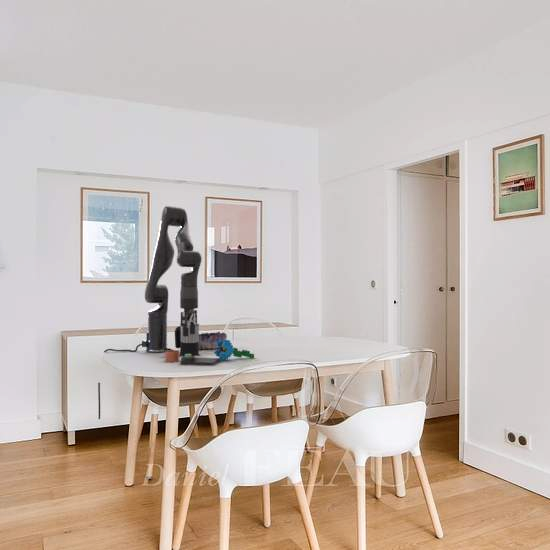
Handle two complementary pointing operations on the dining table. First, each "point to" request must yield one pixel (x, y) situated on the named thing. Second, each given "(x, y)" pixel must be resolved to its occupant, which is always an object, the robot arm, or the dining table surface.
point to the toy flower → (230, 350)
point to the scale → (199, 361)
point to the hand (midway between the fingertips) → (189, 335)
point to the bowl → (171, 356)
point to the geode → (210, 340)
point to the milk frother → (186, 341)
